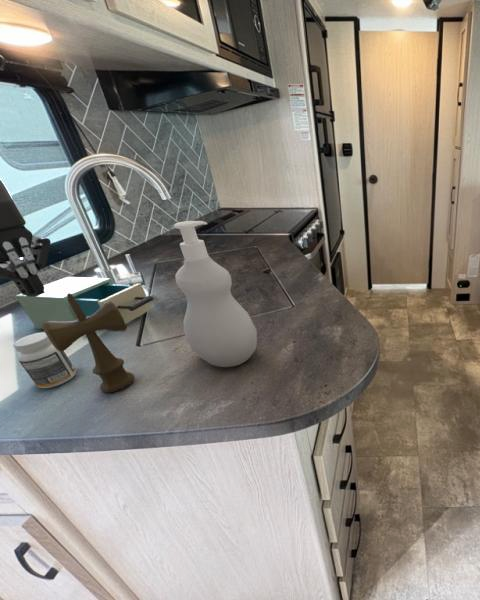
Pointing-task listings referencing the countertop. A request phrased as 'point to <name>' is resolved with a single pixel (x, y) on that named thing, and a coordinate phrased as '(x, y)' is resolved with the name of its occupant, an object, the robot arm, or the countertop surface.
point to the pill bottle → (44, 361)
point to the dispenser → (57, 299)
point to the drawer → (115, 300)
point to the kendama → (93, 341)
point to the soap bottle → (212, 306)
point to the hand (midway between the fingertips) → (36, 294)
